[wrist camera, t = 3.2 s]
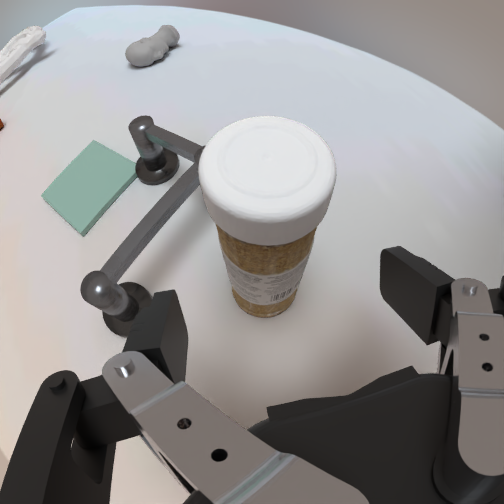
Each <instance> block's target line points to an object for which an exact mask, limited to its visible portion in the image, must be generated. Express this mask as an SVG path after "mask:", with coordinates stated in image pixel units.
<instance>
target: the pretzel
mask: <svg viewBox="0 0 504 504" xmlns="http://www.w3.org/2000/svg"><path fill="white" fill-rule="evenodd" d="M45 38H46V32H45V31H42V28H41V27H39V26H32V27H27V29H25V30H22V32H21V33H19V34H18V35H16V36H15V37H13V38H11V41H10V42H8V43H7V45H6V46H5V47H4V48H3V49H2V50H1V51H0V84H1V83H2V82H3V81H4V80H5V79H6V78H7V77H8V76H9V75H10V74H11V73H12V72H13V71H14V70H15V69H16V68H17V67H18V66H19V65H20V63H21V62H22V61H23V60H24V59H25V58H26V56H27V55H28V54H29V53H30V52H31V51H32V50H33V49H34V48H35V47H37V46H39V45H41V44H43V43H44V41H45Z"/></svg>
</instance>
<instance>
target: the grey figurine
mask: <svg viewBox="0 0 504 504" xmlns="http://www.w3.org/2000/svg"><path fill="white" fill-rule="evenodd" d="M179 38H180V36H179V33H178V31H177V30H176V29H175V28H174V27H173V26H171V25H163V26H161V28H160V29H159V31H158V32H157V33H156V34H154V35H153V36H151V37H149V38H142V39H141V40H140V41H137V42H134V43H132V44H131V45H130V46H129V47H128V48H127V49H126V53H125V55H126V58H127V60H128V61H129V62H130V63H131V64H133V65H135V66H140V67H141V66H149V65H151V64H152V63H153V62H154V61H155V60H158V59H161V58H163V55H164V53H165V52H167V51H168V50H169V47H173V46H175V45H176V44H177V43H178V41H179Z"/></svg>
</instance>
